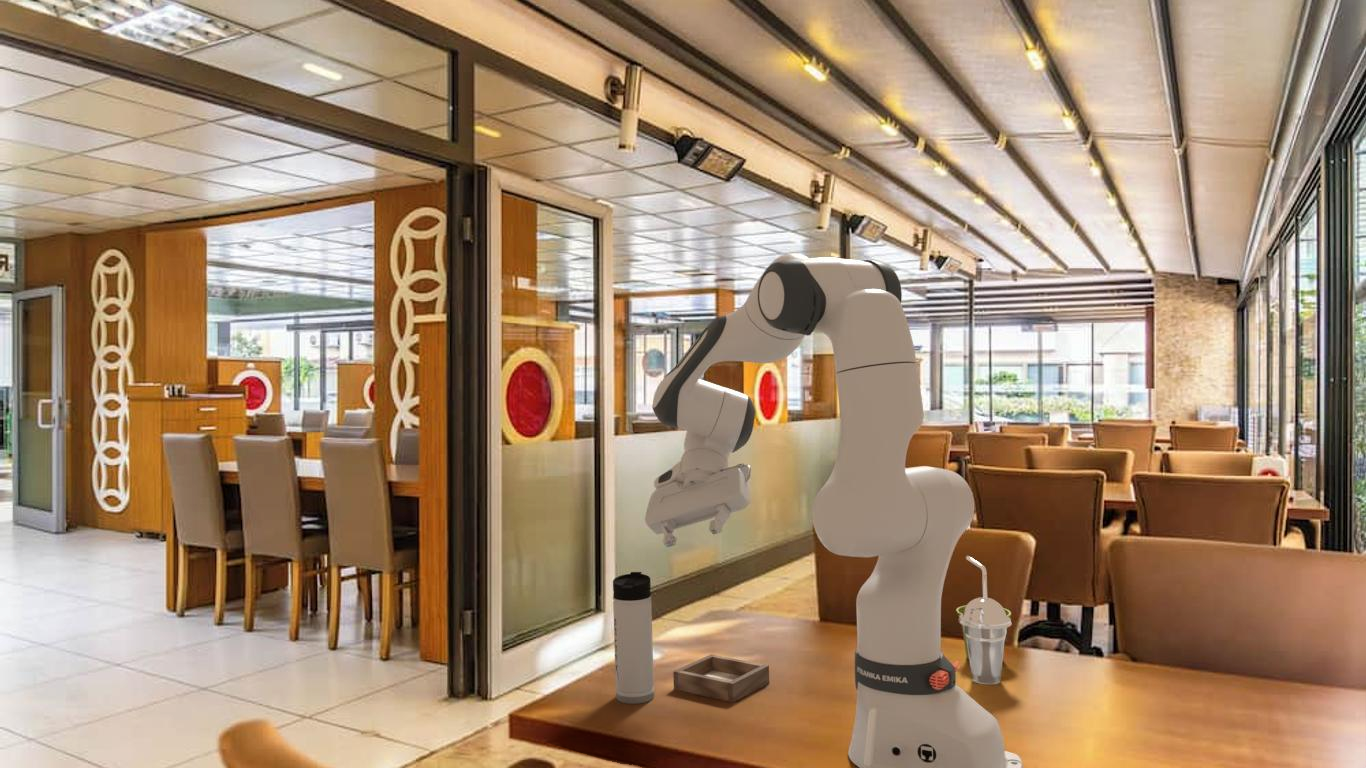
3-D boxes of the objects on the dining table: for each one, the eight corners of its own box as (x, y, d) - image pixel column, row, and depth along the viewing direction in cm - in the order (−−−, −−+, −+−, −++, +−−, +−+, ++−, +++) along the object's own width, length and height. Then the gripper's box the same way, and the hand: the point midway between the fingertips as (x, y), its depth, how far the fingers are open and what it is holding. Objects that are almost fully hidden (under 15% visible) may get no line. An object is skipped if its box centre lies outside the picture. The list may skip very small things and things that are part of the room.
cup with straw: (961, 687, 153) (958, 566, 153) (958, 670, 162) (955, 555, 162) (1015, 690, 151) (1012, 567, 151) (1010, 672, 160) (1007, 556, 160)
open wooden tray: (769, 683, 158) (768, 665, 158) (733, 702, 149) (732, 683, 149) (711, 671, 165) (710, 654, 165) (673, 689, 156) (673, 671, 156)
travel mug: (658, 691, 155) (654, 571, 155) (649, 705, 149) (645, 580, 149) (622, 689, 157) (618, 571, 157) (611, 703, 150) (607, 579, 150)
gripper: (760, 472, 165) (753, 534, 155) (666, 501, 175) (654, 562, 165) (742, 450, 162) (734, 512, 152) (647, 481, 172) (633, 541, 162)
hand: (691, 538), depth 159 cm, fingers open, 8 cm apart
